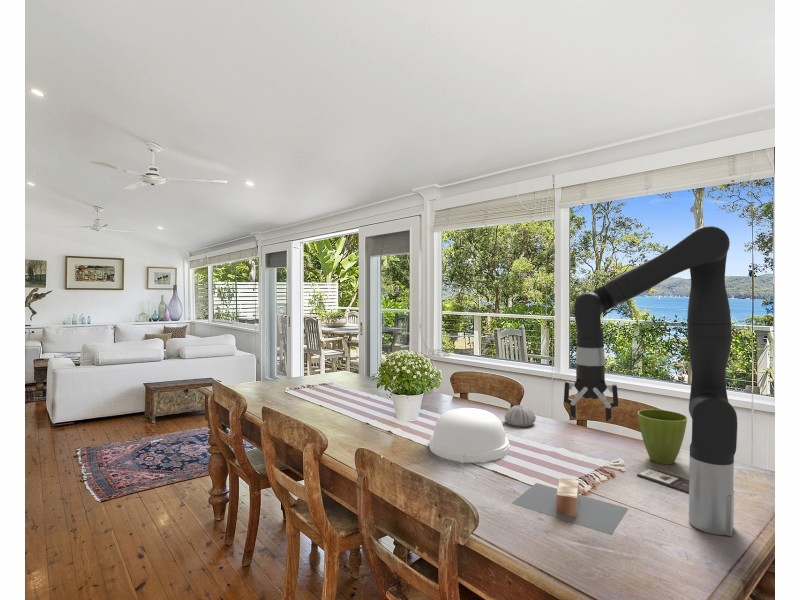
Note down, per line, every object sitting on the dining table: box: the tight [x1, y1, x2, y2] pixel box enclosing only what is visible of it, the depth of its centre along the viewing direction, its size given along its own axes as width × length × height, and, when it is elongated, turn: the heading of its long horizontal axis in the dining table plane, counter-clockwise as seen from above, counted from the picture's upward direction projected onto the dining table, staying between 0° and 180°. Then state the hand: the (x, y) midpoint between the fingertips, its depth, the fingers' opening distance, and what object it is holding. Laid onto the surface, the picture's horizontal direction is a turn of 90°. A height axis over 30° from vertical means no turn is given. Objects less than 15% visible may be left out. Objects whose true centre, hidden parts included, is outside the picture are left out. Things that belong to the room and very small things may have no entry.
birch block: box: [556, 477, 580, 517], centre depth 126 cm, size 5×5×12 cm
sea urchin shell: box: [504, 404, 537, 428], centre depth 204 cm, size 13×14×8 cm
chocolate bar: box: [636, 467, 689, 495], centre depth 142 cm, size 9×1×18 cm
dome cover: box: [429, 407, 511, 464], centre depth 173 cm, size 32×30×14 cm
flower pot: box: [637, 408, 688, 465], centre depth 160 cm, size 15×15×16 cm
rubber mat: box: [511, 482, 630, 536], centre depth 126 cm, size 26×17×1 cm, turn 51°
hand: (590, 419), depth 131 cm, fingers open, 8 cm apart
